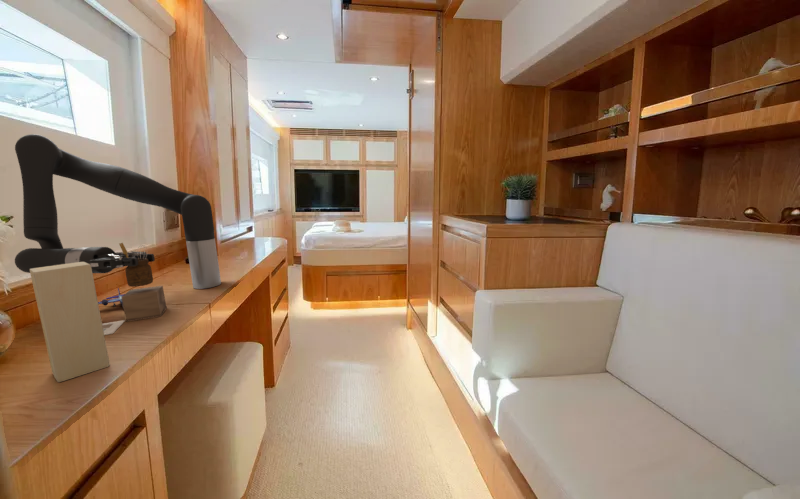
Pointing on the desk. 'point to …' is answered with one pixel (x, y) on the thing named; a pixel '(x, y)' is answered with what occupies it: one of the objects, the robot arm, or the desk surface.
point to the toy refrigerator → (70, 319)
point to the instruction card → (111, 327)
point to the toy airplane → (112, 300)
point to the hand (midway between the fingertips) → (145, 259)
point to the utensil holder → (138, 271)
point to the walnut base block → (144, 303)
